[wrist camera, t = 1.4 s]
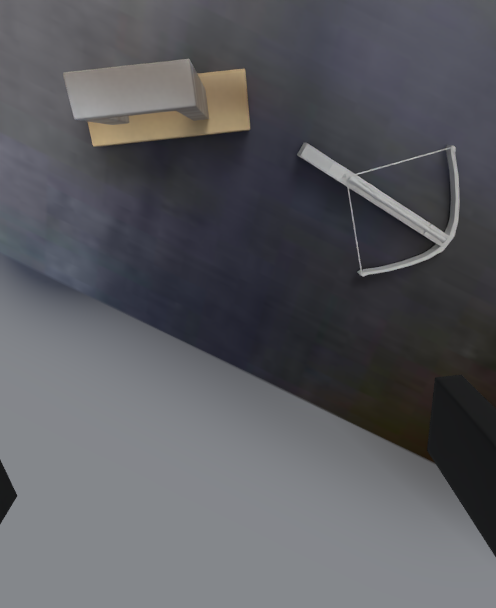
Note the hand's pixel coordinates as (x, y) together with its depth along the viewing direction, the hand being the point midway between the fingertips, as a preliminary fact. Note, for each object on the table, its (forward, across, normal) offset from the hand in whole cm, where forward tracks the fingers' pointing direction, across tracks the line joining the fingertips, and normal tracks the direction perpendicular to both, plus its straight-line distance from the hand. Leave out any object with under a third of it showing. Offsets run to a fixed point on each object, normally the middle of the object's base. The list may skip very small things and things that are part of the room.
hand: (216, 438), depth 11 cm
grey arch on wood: (+25, -3, +11) cm, 27 cm away
